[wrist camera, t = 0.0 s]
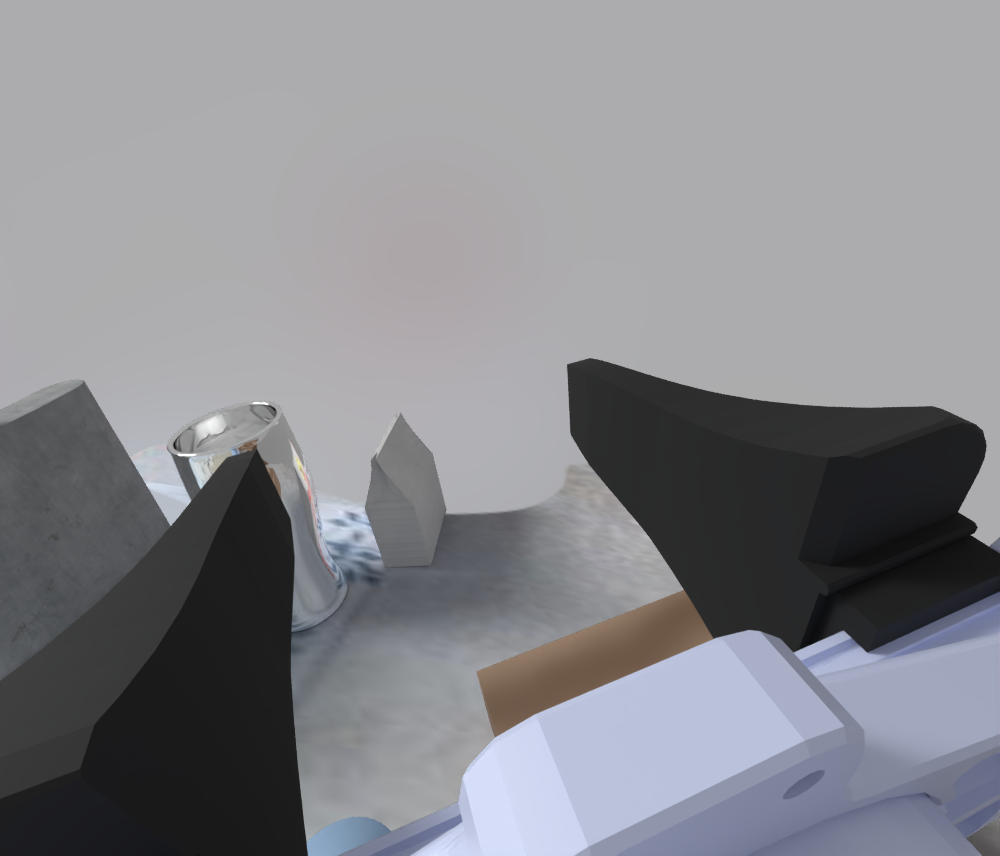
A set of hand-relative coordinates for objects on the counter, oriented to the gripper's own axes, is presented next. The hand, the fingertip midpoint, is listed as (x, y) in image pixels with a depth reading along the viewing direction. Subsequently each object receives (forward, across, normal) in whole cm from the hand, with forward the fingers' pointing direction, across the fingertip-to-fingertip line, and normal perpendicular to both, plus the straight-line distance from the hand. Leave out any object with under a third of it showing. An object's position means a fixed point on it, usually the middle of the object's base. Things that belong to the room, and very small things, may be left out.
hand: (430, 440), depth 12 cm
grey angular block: (+22, +1, +24) cm, 33 cm away
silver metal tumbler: (+19, +10, +24) cm, 32 cm away
